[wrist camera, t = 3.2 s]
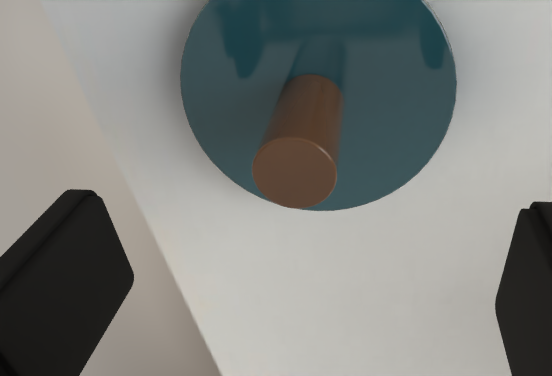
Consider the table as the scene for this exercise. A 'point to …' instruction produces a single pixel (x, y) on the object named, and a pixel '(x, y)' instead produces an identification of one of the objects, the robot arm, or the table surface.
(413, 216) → the table surface
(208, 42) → the lid
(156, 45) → the table surface
